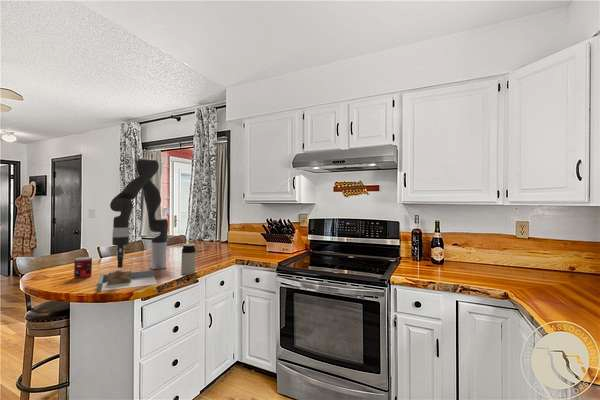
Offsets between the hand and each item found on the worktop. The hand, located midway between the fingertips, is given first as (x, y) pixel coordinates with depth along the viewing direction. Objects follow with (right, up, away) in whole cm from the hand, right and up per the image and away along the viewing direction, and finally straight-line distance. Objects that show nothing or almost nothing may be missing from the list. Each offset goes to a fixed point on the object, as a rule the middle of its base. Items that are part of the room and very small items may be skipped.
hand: (120, 265), depth 152 cm
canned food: (-29, -9, +11) cm, 32 cm away
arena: (+5, -9, 0) cm, 10 cm away
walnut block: (0, -9, 0) cm, 9 cm away
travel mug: (+27, -11, +25) cm, 38 cm away
